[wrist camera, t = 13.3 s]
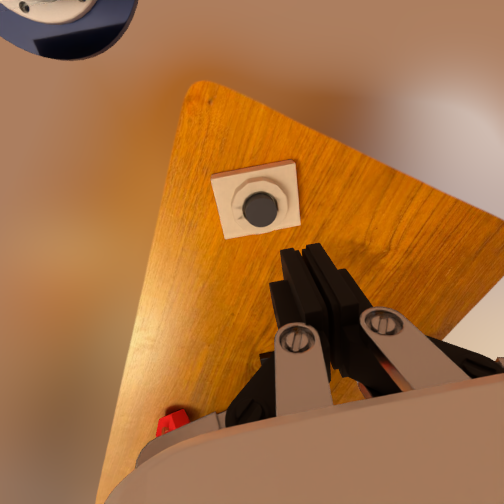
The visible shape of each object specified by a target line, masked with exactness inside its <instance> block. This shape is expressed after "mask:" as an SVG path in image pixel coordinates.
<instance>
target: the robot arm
mask: <svg viewBox="0 0 504 504" xmlns="http://www.w3.org/2000/svg"><path fill="white" fill-rule="evenodd" d="M96 1H97V0H86V1H85V2H84V1H83V0H0V3H1V4H3V5H4V6H5V7H7V8H8V9H10V10H12V11H14V12H15V13H17V14H19V15H21V16H23V17H25V18H28V19H30V20H33V21H36V22H40V23H44V24H51V25H62V24H67V23H71V22H74V21H76V20H78V19H80V18H82V17H83V16H84V15H85V14H86V13H87V12H89V11H90V10H91V8H92V7H93V5H94V4H95V3H96ZM28 7H29V9H30V10H29V12H28V9H27V8H28ZM280 254H281V262H282V270H283V277H284V280H282V281H276V282H271V283H269V286H270V292H271V298H272V303H273V309H274V313H275V318H276V322H277V326H278V331H277V333H276V335H275V340H274V342H275V351H274V352H273V353H272V354H271V356H270V357H269V358H268V359H267V360H266V362H265V363H264V364H263V365H262V366H261V368H260V369H259V370H258V371H257V372H256V374H255V375H254V376H253V377H252V378H251V380H250V381H249V382H248V383H247V384H246V386H245V387H244V388H243V389H242V390H241V392H240V393H239V394H238V395H237V396H236V398H235V399H234V400H233V401H232V402H231V404H230V406H229V407H228V409H227V410H226V411H224V412H222V413H220V414H216V412H213V413H211V414H209V415H207V416H204V417H202V418H200V419H197V420H195V421H193V422H191V423H188V424H186V425H184V426H182V427H179V428H177V429H175V430H172V431H170V432H168V433H166V434H163V435H161V436H159V437H156V438H155V439H153V440H152V441H150V442H149V443H148V444H147V445H146V446H145V447H144V448H143V449H142V450H141V452H140V454H139V456H138V458H137V460H136V466H135V470H133V471H132V472H131V473H130V474H129V475H127V476H126V477H125V478H124V479H123V480H122V481H121V482H120V483H119V484H118V485H117V486H116V487H115V488H114V490H113V491H112V492H111V493H110V495H109V497H108V498H107V500H106V501H105V503H104V504H504V357H497V359H496V361H493V360H491V359H490V358H488V357H486V356H483V355H481V354H478V353H476V352H472V351H470V350H467V349H464V348H461V347H458V346H455V345H452V344H449V343H447V342H443V341H441V340H438V339H435V338H432V337H429V336H426V335H424V334H423V333H422V332H421V331H419V330H418V329H417V328H416V327H415V326H414V325H413V324H412V323H411V322H410V321H409V320H408V319H407V318H405V317H404V316H403V315H402V314H401V313H399V312H398V311H396V310H393V309H391V308H387V307H373V306H372V305H371V303H370V302H369V300H368V299H367V298H366V296H365V295H364V293H363V292H362V291H361V289H360V288H359V286H358V285H357V284H356V282H355V281H354V279H353V278H352V277H351V275H350V274H349V272H348V271H347V270H346V269H339V270H337V268H336V267H335V265H334V264H333V262H332V261H331V259H330V258H329V256H328V255H327V253H326V252H325V250H324V249H323V247H322V246H321V244H320V243H315V244H310V245H306V249H302V256H301V254H300V252H299V250H296V251H295V250H294V248H289V249H283V250H280ZM330 362H331V364H332V367H333V369H334V370H335V369H339V371H340V374H341V376H342V378H343V377H350V378H352V379H354V380H356V381H357V384H358V387H359V389H360V391H361V392H362V394H363V395H364V397H365V400H360V401H355V402H349V403H344V404H339V405H334V406H333V402H332V397H331V392H330V387H329V383H330V381H331V370H330Z"/></svg>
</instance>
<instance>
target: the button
mask: <svg viewBox="0 0 504 504" xmlns="http://www.w3.org/2000/svg"><path fill="white" fill-rule="evenodd" d="M245 214H246V218H247V220H248V222H249V223H250V224H251V225H253V226H255V227H266V226H268V225H270V224H271V223H273V221H274V220H275V218H276V216H277V207H276V205H275V203H274V201H273V199H272V198H271V197H270V196H269V195H267V194H264V193H256V194H254V195H252V196H250V197H249V198H248V199H247V201H246V203H245Z"/></svg>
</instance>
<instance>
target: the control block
mask: <svg viewBox="0 0 504 504" xmlns="http://www.w3.org/2000/svg"><path fill="white" fill-rule="evenodd" d="M211 183H212V187H213V191H214V195H215V200H216V204H217V208H218V212H219V216H220V220H221V225H222V229H223V233H224V237H225V239H230V238H235V237H241V236H246V235H251V234H262V233H267V232H271V231H272V230H277V229H282V228H288V227H293V226H298V225H301V223H300V211H299V199H298V187H297V176H296V164H295V162H294V161H292V160H291V159H290V160H285V161H280V162H275V163H269V164H264V165H259V166H254V167H248V168H243V169H238V170H233V171H228V172H222V173H217V174H212V175H211ZM256 193H264V194H267V195H269V196H270V197H271V198H272V199H273V201H274V203H275V205H276V207H277V216H276V218H275V220H274V221H273V223H271V224H270V225H268V226H266V227H255V226H253V225H251V224H250V223H249V222H248V220H247V218H246V214H245V203H246V201H247V199H248V198H249V197H250V196H252V195H254V194H256Z"/></svg>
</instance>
